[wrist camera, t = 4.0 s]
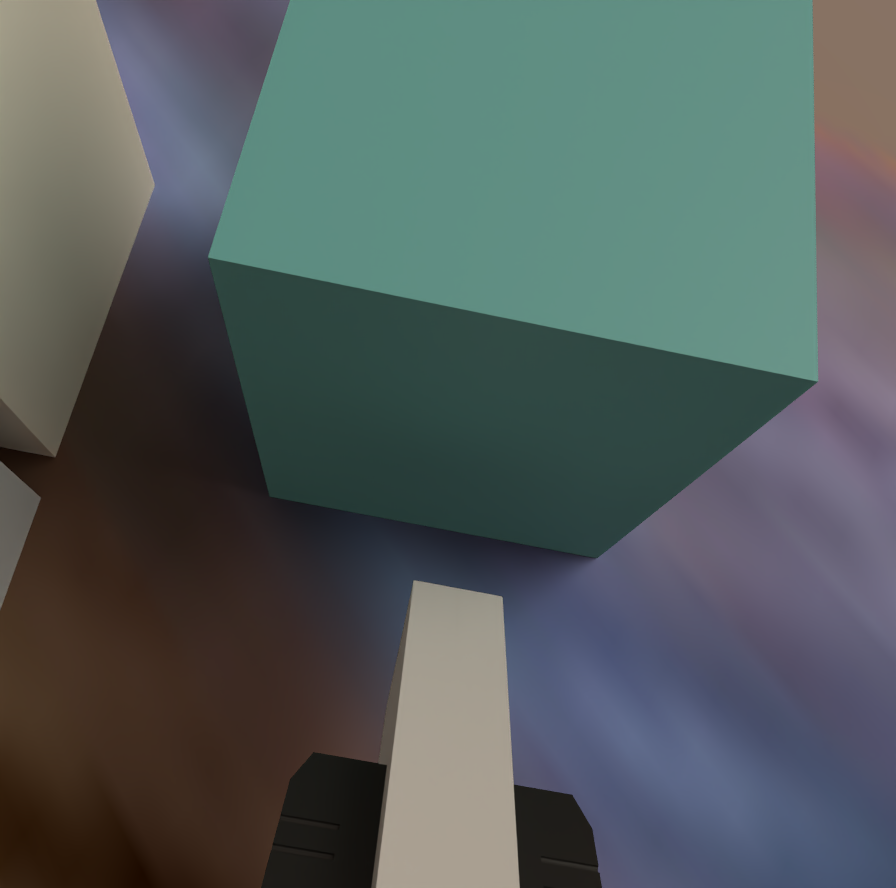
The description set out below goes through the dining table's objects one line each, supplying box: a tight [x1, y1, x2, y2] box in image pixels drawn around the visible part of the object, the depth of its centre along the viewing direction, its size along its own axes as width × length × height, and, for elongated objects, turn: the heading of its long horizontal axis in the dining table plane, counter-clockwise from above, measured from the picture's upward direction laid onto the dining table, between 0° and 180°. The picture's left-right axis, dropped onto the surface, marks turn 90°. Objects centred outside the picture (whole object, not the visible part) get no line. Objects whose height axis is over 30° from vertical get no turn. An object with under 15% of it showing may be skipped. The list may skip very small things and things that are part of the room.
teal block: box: [208, 0, 818, 558], centre depth 17 cm, size 8×8×10 cm
